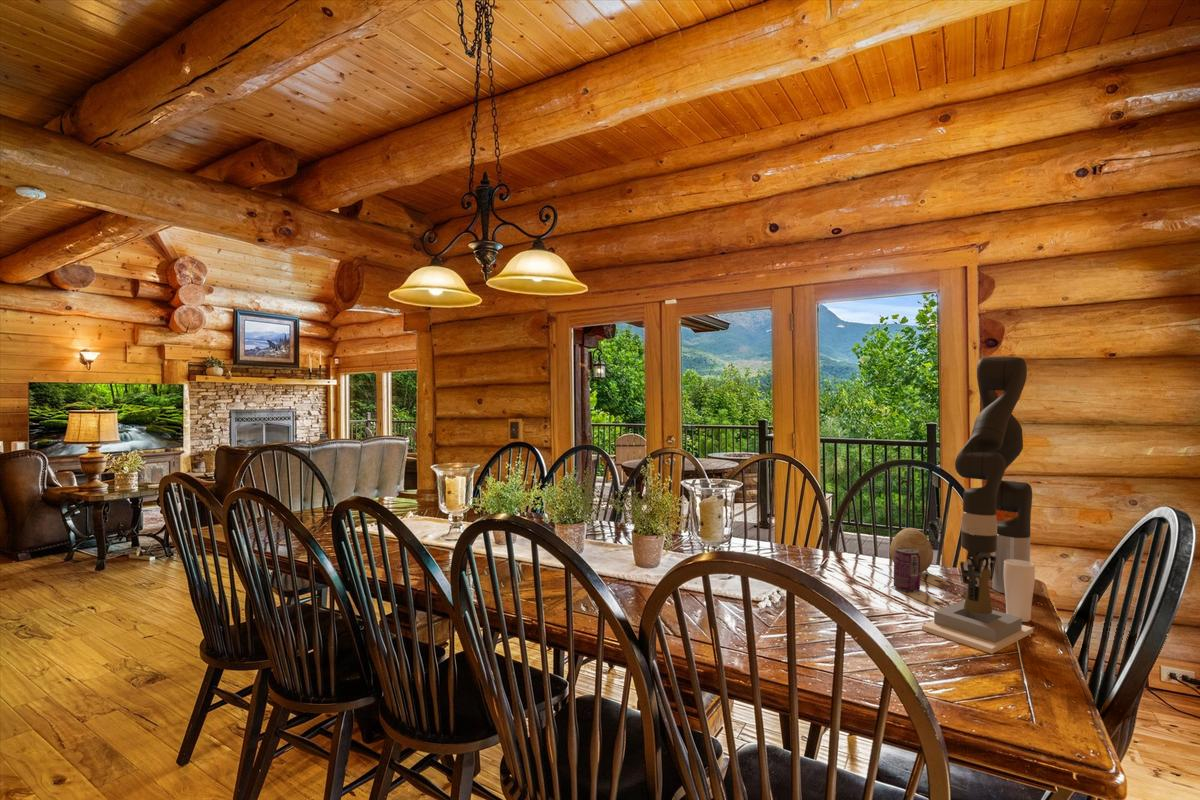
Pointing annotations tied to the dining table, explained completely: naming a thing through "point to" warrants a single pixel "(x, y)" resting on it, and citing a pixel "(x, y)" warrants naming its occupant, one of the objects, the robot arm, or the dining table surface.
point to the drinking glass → (1019, 588)
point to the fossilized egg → (914, 546)
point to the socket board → (974, 639)
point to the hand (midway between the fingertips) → (977, 598)
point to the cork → (981, 595)
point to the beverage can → (907, 569)
